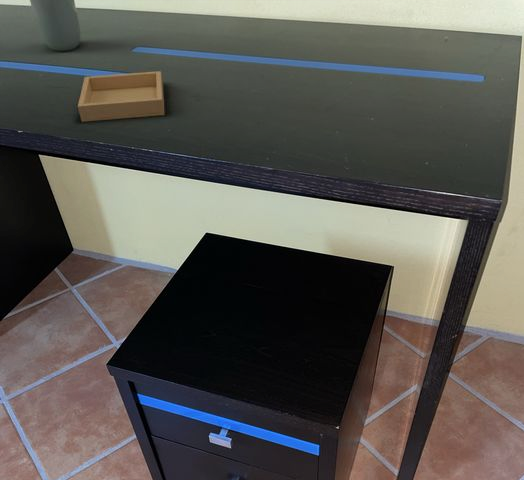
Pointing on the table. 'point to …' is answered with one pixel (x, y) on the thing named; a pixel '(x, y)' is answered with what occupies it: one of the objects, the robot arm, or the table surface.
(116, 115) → the tray
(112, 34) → the table surface
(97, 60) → the table surface
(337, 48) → the table surface
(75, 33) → the cup
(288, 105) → the table surface
